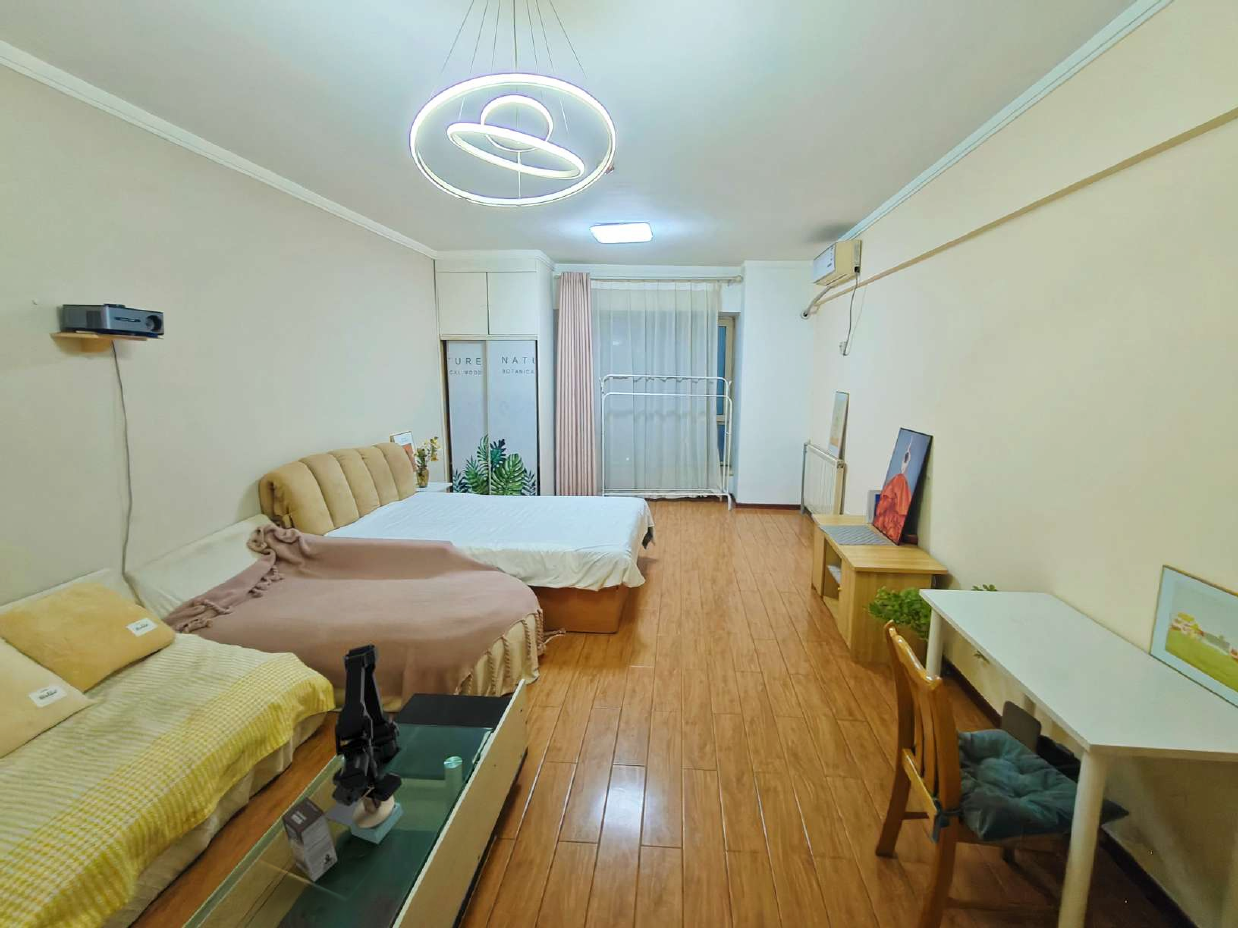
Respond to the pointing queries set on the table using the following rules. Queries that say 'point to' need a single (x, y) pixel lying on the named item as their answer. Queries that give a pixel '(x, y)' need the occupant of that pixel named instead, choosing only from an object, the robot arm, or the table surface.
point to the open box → (378, 826)
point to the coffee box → (309, 838)
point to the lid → (372, 812)
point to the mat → (343, 813)
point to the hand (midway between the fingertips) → (373, 805)
